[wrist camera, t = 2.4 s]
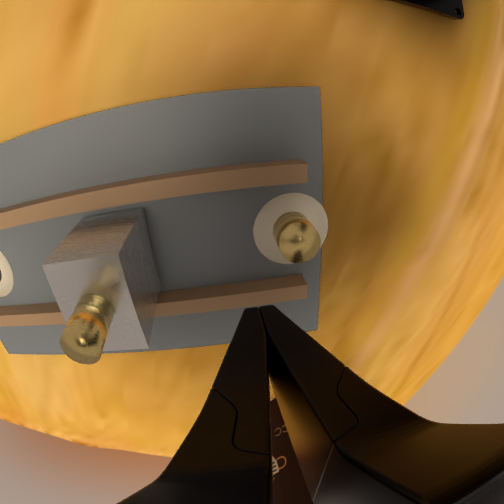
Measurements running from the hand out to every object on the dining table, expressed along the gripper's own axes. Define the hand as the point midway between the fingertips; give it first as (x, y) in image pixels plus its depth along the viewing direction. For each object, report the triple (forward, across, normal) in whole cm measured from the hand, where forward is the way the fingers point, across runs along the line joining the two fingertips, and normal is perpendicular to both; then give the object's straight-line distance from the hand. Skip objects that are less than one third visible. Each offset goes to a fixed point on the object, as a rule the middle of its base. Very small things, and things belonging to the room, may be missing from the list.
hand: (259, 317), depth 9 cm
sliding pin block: (+6, +6, 0) cm, 8 cm away
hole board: (+7, +7, 0) cm, 10 cm away
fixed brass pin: (+6, -2, 0) cm, 7 cm away
